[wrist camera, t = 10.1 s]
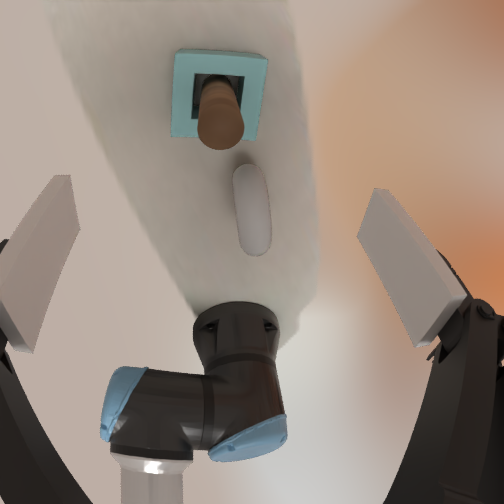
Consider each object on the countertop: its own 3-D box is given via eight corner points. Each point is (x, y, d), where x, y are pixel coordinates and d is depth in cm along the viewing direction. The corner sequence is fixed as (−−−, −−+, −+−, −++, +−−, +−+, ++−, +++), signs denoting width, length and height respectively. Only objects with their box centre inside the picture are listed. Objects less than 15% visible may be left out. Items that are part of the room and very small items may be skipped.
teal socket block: (250, 124, 33) (255, 140, 29) (175, 120, 32) (170, 136, 28) (260, 54, 28) (268, 59, 24) (180, 49, 27) (175, 53, 23)
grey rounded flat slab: (227, 151, 35) (233, 196, 28) (258, 147, 35) (273, 191, 28) (236, 222, 42) (244, 278, 34) (263, 218, 42) (277, 273, 34)
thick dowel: (229, 101, 31) (241, 151, 21) (201, 99, 31) (195, 149, 20) (233, 74, 29) (247, 108, 19) (203, 72, 29) (198, 105, 18)
